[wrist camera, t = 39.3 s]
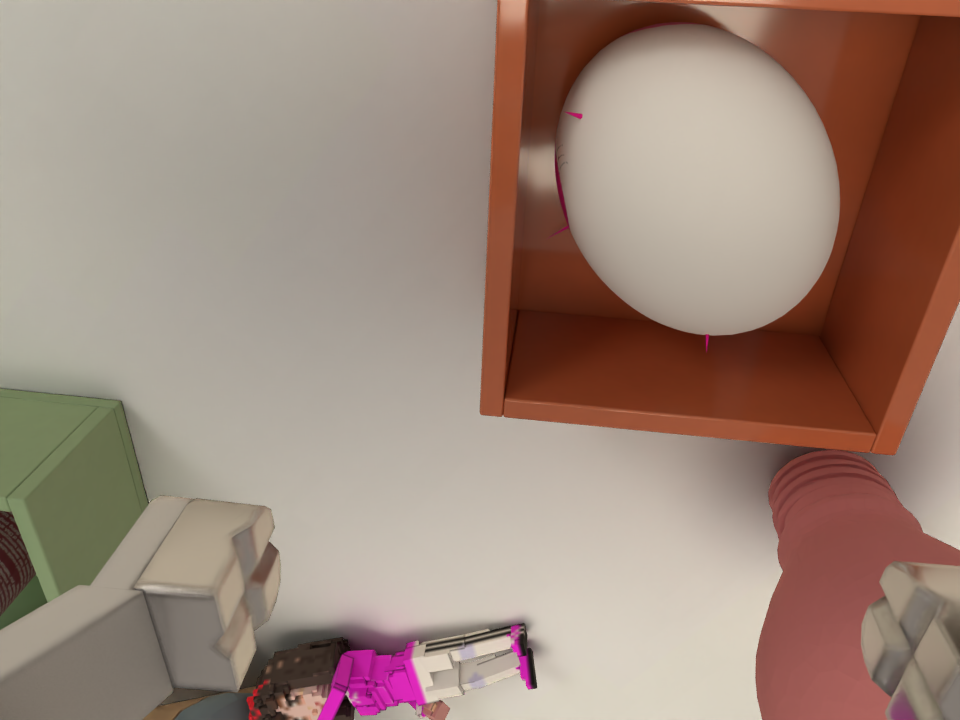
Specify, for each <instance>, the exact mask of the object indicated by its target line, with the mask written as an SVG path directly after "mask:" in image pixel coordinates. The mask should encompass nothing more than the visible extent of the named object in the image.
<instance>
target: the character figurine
mask: <svg viewBox="0 0 960 720" xmlns="http://www.w3.org/2000/svg"><path fill="white" fill-rule="evenodd" d="M511 648H513V651H511V652H508V653H505V654H503V655H500V656H496V655H495V653H494V652H499V651H503V650H507V649H511ZM490 653H494V654H492V655H489V656H487V657H484V658H481V659H479V660H476V661H471V662H465V663H460V662H459V661H460V660H465V659H470V658H474V657H478V656H482V655H486V654H490ZM456 661H457V662H456ZM519 673H520V675H521V678H522V680H523V681H525V680H526V686H527V688H528V689H535V688H537V682H536V674H535V666H534V657H533V651H532V649H531V648H527V632H526V628H525V625H524V624H518V625H513V626H507V627H503V628H499V629H495V630H491V631H489V629H485V630H481V631H476V632H472V633H468V634H464V635H459V636H453V637H448V638H443V639H437V640H432V641H427V642H422V643H421V644H420V643H419V640H418V641H414V642H410V643H406V648H405V651H400V652H395V655H394V656H392V655H380V656H378V655H377V653H376V651H375V650H357V651H351V649H350V646H349V645H348V639H347V640H343V637H341V638H335V639H329V640H323V641H317V642H311V643H305V644H300V645H298V648H294V649H289V650H283V651H277V652H274V656H273V659H269V660H268V665H267V666H265V667H264V670H262V672H261V676H260V677H258V680H257V684H256V688H255V690H253V696H251V697H247V700H246V701H247V703H248V706H249V709H250V713H249V717H248V718H249V720H354V711H355V707H356V709H357V711H358V712H359V714H360V715H361V716H362V715H377V713H380V710H386V707H390V706H398V704H399V703H407V702H408V703H409V704H410V705H411V706H412V707H413V708H414V709H415V710H416V712H415V714H416V715H417V716H418V717H419V718H420V719H421V718H424V717H428V718H429V719H431V720H445V718H446V716H447V714H448V712H449V710H450V708H449V707H448V706H447V705H446V704H445V703H444V702H443V701H441V700H439V699H443V698H449V697H455V696H460V695H464V691H465V690H470V689H476V688H482V687H484V686H487V685H490V684H492V683H495V682H498V681H500V680H503V679H506V678H508V677H511V676H513V675H516V674H519Z"/></svg>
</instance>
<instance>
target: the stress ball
mask: <svg viewBox="0 0 960 720" xmlns="http://www.w3.org/2000/svg"><path fill="white" fill-rule="evenodd" d="M555 176H556V183H557V189H558V194H559V199H560V203H561V206H562V210H563V213H564V216H565V219H566V222H567V224H568V226H566V227H564V228H563V229H561V230H560V231H558V232H557V233H555V234H553V235H552V236H554V235H556V234H558V233H560V232H562V231H564V230H566V229H568V228H569V229H570V231H571V234H572V236H573V238H574V240H575V242H576V244H577V245H578V247H579V249H580V251H581V253H582V254H583V256H584V257H585V259H586V260H587V262H588V263H589V265H590V266H591V268H592V269H593V270H594V271H595V273H596V274H597V275H598V276H599V278H600V279H601V280H602V281H603V282H604V283H605V284H606V285H607V286H608V287H609V288H610V289H611V290H612V291H613V292H614V293H615V294H616V295H617V296H618V297H619V298H621V299H622V300H623V301H624V302H625V303H627V304H628V305H629V306H631V307H632V308H634V309H635V310H637V311H638V312H640V313H641V314H643V315H645V316H646V317H648V318H650V319H652V320H654V321H656V322H658V323H660V324H663V325H665V326H668V327H671V328H673V329H677V330H680V331H684V332H688V333H694V334H700V335H706V353H707V346H708V340H709V335H712V336H716V335H733V334H738V333H743V332H747V331H751V330H754V329H757V328H760V327H762V326H765V325H767V324H769V323H771V322H773V321H775V320H776V319H778V318H780V317H782V316H783V315H785V314H786V313H787V312H788V311H790V310H791V309H792V308H793V307H795V306H796V305H797V304H798V303H799V302H800V301H801V300H802V299H803V298H804V297H805V296H806V295H807V294H808V292H809V291H810V290H811V288H812V287H813V286H814V284H815V283H816V282H817V280H818V279H819V277H820V275H821V274H822V272H823V270H824V268H825V266H826V264H827V262H828V259H829V257H830V254H831V252H832V249H833V245H834V241H835V238H836V234H837V229H838V223H839V212H840V188H839V177H838V170H837V164H836V160H835V157H834V153H833V149H832V146H831V143H830V140H829V138H828V135H827V132H826V130H825V127H824V125H823V123H822V121H821V119H820V117H819V115H818V113H817V111H816V109H815V107H814V106H813V104H812V102H811V101H810V99H809V98H808V96H807V95H806V93H805V92H804V90H803V89H802V88H801V87H800V85H799V84H798V83H797V82H796V81H795V79H794V78H793V77H792V76H791V75H790V74H789V73H788V72H787V71H786V70H785V69H784V68H783V67H782V66H781V65H780V64H779V63H778V62H777V61H776V60H774V59H773V58H772V57H771V56H770V55H768V54H767V53H766V52H764V51H763V50H762V49H760V48H759V47H757V46H756V45H754V44H752V43H751V42H749V41H747V40H745V39H743V38H742V37H740V36H737V35H735V34H733V33H730V32H728V31H725V30H722V29H720V28H716V27H712V26H708V25H703V24H697V23H687V22H670V23H660V24H655V25H651V26H647V27H643V28H640V29H636V30H634V31H632V32H629V33H627V34H625V35H623V36H621V37H619V38H618V39H616V40H615V41H613V42H612V43H610V44H609V45H607V46H606V47H605V48H603V49H602V50H600V51H599V52H598V53H597V54H596V56H595V57H594V58H593V59H592V60H591V61H590V62H589V63H588V64H587V65H586V66H585V67H584V68H583V70H582V71H581V73H580V74H579V76H578V77H577V79H576V80H575V82H574V84H573V85H572V87H571V89H570V91H569V93H568V95H567V98H566V100H565V103H564V106H563V109H562V111H561V114H560V119H559V123H558V127H557V133H556V141H555ZM552 236H550V237H552ZM550 237H549V238H550ZM547 239H548V238H547Z"/></svg>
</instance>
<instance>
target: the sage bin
mask: <svg viewBox="0 0 960 720" xmlns="http://www.w3.org/2000/svg"><path fill="white" fill-rule="evenodd" d="M147 506H148V502H147V498H146V494H145V490H144V486H143V483H142V479H141V475H140V471H139V468H138V464H137V460H136V456H135V452H134V449H133V445H132V441H131V437H130V433H129V430H128V426H127V422H126V418H125V414H124V411H123V407H122V403H121V401H117V400H107V399H97V398H87V397H78V396H68V395H58V394H48V393H38V392H28V391H18V390H8V389H0V511H6V512H11V511H12V513H13V516H14V519H15V521H16V524H17V526H18V529H19V531H20V534H21V536H22V539H23V541H24V544H25V546H26V549H27V551H28V554H29V557H30V559H31V562H32V564H33V567H34V569H35V572H36V575H35V576H34V577H33V578H32V580H31V581H30V582H29V583H28V584H27V586H26V587H25V588H24V589H23V590H22V591H21V593H20V594H19V595H18V596H17V597H16V599H15V600H14V601H13V602H12V603H11V605H10V606H9V607H8V608H7V609H6V610H5V612H4V613H3V614H2V615H1V616H0V630H1V629H3V628H5V627H7V626H8V625H10V624H12V623H13V622H15V621H17V620H19V619H20V618H22V617H24V616H26V615H27V614H29V613H31V612H32V611H34V610H36V609H38V608H39V607H41V606H43V605H45V604H46V603H48V602H50V601H52V600H53V599H55V598H57V597H58V596H60V595H62V594H64V593H65V592H67V591H69V590H71V589H72V588H74V587H76V586H78V585H88V586H90V585H91V583H92V582H93V580H94V579H95V578H96V576H97V575H98V573H99V572H100V571H101V569H102V568H103V567H104V565H105V564H106V562H107V561H108V560H109V558H110V557H111V555H112V554H113V553H114V551H115V550H116V549H117V547H118V546H119V544H120V543H121V542H122V540H123V539H124V537H125V536H126V535H127V533H128V532H129V530H130V529H131V528H132V526H133V525H134V524H135V522H136V521H137V519H138V518H139V517H140V515H141V514H142V512H143V511H144V510H145V508H146V507H147Z"/></svg>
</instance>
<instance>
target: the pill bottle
mask: <svg viewBox="0 0 960 720" xmlns="http://www.w3.org/2000/svg"><path fill="white" fill-rule="evenodd" d="M35 575H36V572H35V569H34V567H33V564H32V562H31V559H30V557H29V554H28V551H27V549H26V546H25V544H24V541H23V539H22V536H21V534H20V531H19V529H18V526H17V524H16V521H15V519H14V516H13V513H12V511H11V512H6V511H0V616H1V615H2V614H3V613H4V612H5V610H6V609H7V608H8V607H9V606H10V605H11V603H12V602H13V601H14V600H15V599H16V597H17V596H18V595H19V594H20V593H21V591H22V590H23V589H24V588H25V587H26V586H27V584H28V583H29V582H30V581H31V580H32V578H33V577H34V576H35Z"/></svg>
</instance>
